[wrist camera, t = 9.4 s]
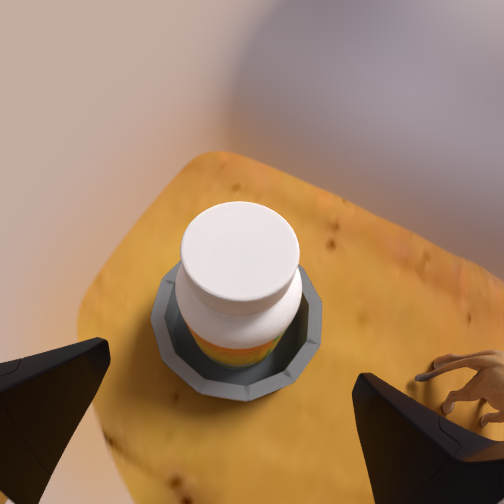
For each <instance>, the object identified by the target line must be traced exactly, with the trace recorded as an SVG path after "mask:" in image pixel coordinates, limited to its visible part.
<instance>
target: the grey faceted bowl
mask: <svg viewBox="0 0 504 504" xmlns="http://www.w3.org/2000/svg"><path fill="white" fill-rule="evenodd" d="M180 264H181V261H179V262H178V263H177V264H176V265H175V266H174V267H173V268H172V269H171V270H170V271H169V272H168V273H167V274H166V275H165V276H164V277H163V279H162V280H161V283H160V286H159V289H158V293H157V296H156V299H155V303H154V306H153V310H152V313H151V317H150V318H151V323H152V327H153V331H154V334H155V338H156V341H157V345H158V348H159V352H160V355H161V358H162V360H163V362H164V363H165V364H166V365H167V366H168V367H169V368H171V369H172V370H173V371H174V372H175V373H176V374H177V375H178V376H179V377H181V378H182V379H183V380H184V381H185V382H186V383H187V384H189V385H190V386H191V387H192V388H193V389H194V390H196V391H197V392H198V393H200V394H203V395H206V396H212V397H217V398H223V399H229V400H236V401H243V402H248V401H251V400H253V399H256V398H259V397H261V396H264V395H266V394H269V393H271V392H273V391H276V390H278V389H281V388H283V387H285V386H287V385H290V384H292V383H294V382H295V381H296V380H297V378H298V377H299V376H300V374H301V373H302V371H303V370H304V369H305V367H306V366H307V364H308V363H309V361H310V360H311V359H312V357H313V356H314V354H315V353H316V351H317V350H318V348H319V347H320V344H321V327H322V301H321V300H320V298H319V296H318V294H317V292H316V290H315V288H314V287H313V285H312V283H311V281H310V279H309V277H308V276H307V274H306V272H305V270H304V268H302V266H300V265H299V264H298V269H299V272H300V276H301V281H302V296H301V301H300V304H299V307H298V310H297V312H296V314H295V316H294V318H293V320H292V322H291V323H290V325H289V326H288V328H287V329H286V331H285V332H284V334H283V335H282V337H281V339H280V340H279V342H278V343H277V345H276V347H275V348H274V350H273V351H272V353H271V354H270V355H269V356H268V357H267V358H266V359H265V360H264V361H262V362H261V363H259V364H257V365H255V366H253V367H249V368H245V369H229V368H225V367H222V366H219V365H217V364H215V363H214V362H212V361H211V360H209V359H208V358H207V357H206V356H205V355H204V354H203V352H202V351H201V350H200V348H199V346H198V345H197V343H196V341H195V339H194V337H193V335H192V333H191V332H190V330H189V328H188V326H187V324H186V322H185V321H184V319H183V316H182V314H181V312H180V309H179V306H178V303H177V299H176V292H175V284H176V277H177V272H178V269H179V267H180Z"/></svg>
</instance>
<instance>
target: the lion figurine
mask: <svg viewBox="0 0 504 504" xmlns="http://www.w3.org/2000/svg"><path fill="white" fill-rule="evenodd" d="M462 367H468V368H471V369H474V370H476V371H478V373H477V374H476V375H475V376H474V377H473V378H472V379H471V380H470V381H469V382H468V383H467V384H466V385H465V386H464V387H463V388H462V389H460V390H458V391H451V392H450V393H449V394H448V396H447V398H446V400H445V401H444V403H443V406H442V408H443V412H444V413H445V414H448V413H451V412H452V410H453V409H454V405H455V403H454V402H456V401H475V400H478V399H480V398H485V399H486V400H488V403H489V405H490V406H491V407H493V408H495V409H497V410H499V412H497V413H487V414H485V415H483V416H482V418H481V426H482V427H485V426H486V425H487V424H488V422H492V423H495V422H498V423H501V422H504V352H503V351H500V350H496V349H492V350H486V351H481V352H478V353H473V354H468V355H456V354H453V353H451V354H447V355H445V356H442V357H438V358H436V359H435V360H434V368H435V369H436V370H434V371H432V372H429V373H422V374H419V375H417V376H416V377H415V381H419V382H421V381H428V380H430V379H432V378H433V377H436V376H438V375H440V374H442V373H445V372H447V371H451V370H454V369H458V368H462Z"/></svg>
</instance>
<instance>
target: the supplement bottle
mask: <svg viewBox="0 0 504 504" xmlns="http://www.w3.org/2000/svg"><path fill="white" fill-rule="evenodd" d="M180 257H181V264H180V267H179V269H178V272H177V277H176V284H175V292H176V299H177V303H178V306H179V309H180V312H181V314H182V316H183V319H184V321H185V322H186V324H187V326H188V328H189V330H190V332H191V333H192V335H193V337H194V339H195V341H196V343H197V345H198V346H199V348H200V350H201V351H202V352H203V354H204V355H205V356H206V357H207V358H208V359H209V360H211V361H212V362H214V363H215V364H217V365H219V366H222V367H225V368H229V369H245V368H249V367H253V366H255V365H257V364H259V363H261V362H262V361H264V360H265V359H266V358H267V357H268V356H269V355H270V354H271V353H272V351H273V350H274V348H275V347H276V345H277V343H278V342H279V340H280V339H281V337H282V335H283V334H284V332H285V331H286V329H287V328H288V326H289V325H290V323H291V322H292V320H293V318H294V316H295V314H296V312H297V310H298V307H299V304H300V301H301V296H302V281H301V276H300V272H299V269H298V263H299V244H298V240H297V237H296V235H295V233H294V231H293V229H292V228H291V226H290V225H289V224H288V223H287V221H286V220H285V219H284V218H282V217H281V216H280V215H279V214H277V213H276V212H274V211H273V210H271V209H269V208H267V207H265V206H262V205H259V204H255V203H250V202H228V203H223V204H219V205H215V206H213V207H211V208H209V209H207V210H205V211H203V212H202V213H200V214H199V215H198V216H197V217H196V218H195V219H194V220H193V221H192V222H191V223H190V224H189V226H188V227H187V229H186V231H185V233H184V235H183V238H182V241H181V247H180Z"/></svg>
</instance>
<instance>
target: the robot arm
mask: <svg viewBox="0 0 504 504" xmlns="http://www.w3.org/2000/svg"><path fill="white" fill-rule="evenodd" d="M110 361H111V357H110V351H109V344H108V341H107V340H106V339H103V338H99V337H96V338H92V339H89V340H85V341H82V342H79V343H75V344H72V345H68V346H65V347H62V348H58V349H54V350H50V351H47V352H43V353H39V354H36V355H32V356H28V357H24V358H23V359H21V358H20V359H16V360H12V361H8V362H3V363H0V504H5V503H6V501H7V500H8V499H9V500H10V501H11V502H12V503H14V504H38V503H39V501H40V499H41V497H42V495H43V493H44V490H45V488H46V486H47V484H48V482H49V480H50V478H51V475H52V473H53V471H54V469H55V467H56V465H57V463H58V462H59V460H60V458H61V456H62V454H63V452H64V450H65V448H66V446H67V445H68V443H69V441H70V439H71V437H72V435H73V433H74V432H75V430H76V428H77V426H78V425H79V423H80V421H81V419H82V418H83V416H84V414H85V412H86V411H87V409H88V407H89V405H90V404H91V402H92V400H93V399H94V397H95V395H96V393H97V391H98V389H99V387H100V385H101V382H102V380H103V378H104V376H105V373H106V371H107V369H108V367H109V365H110ZM352 400H353V406H354V413H355V420H356V426H357V431H358V435H359V439H360V443H361V447H362V451H363V454H364V458H365V462H366V466H367V470H368V475H369V479H370V483H371V487H372V492H373V496H374V501H375V504H504V441H494V440H491V439H488V438H486V437H483V436H481V435H479V434H476V433H474V432H472V431H470V430H467V429H465V428H463V427H461V426H459V425H457V424H455V423H453V422H451V421H449V420H448V419H446V418H444V417H442V416H441V415H438V414H437V413H436V412H434V411H432V410H430V409H429V408H427V407H425V406H424V405H422V404H420V403H419V402H417V401H415V400H414V399H412V398H410V397H409V396H407V395H406V394H404V393H402V392H401V391H399V390H397V389H396V388H394V387H393V386H391V385H389V384H388V383H386V382H385V381H383V380H381V379H380V378H378V377H377V376H375V375H374V374H372V373H360V374H359V376H358V378H357V380H356V383H355V385H354V388H353V390H352Z"/></svg>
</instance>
